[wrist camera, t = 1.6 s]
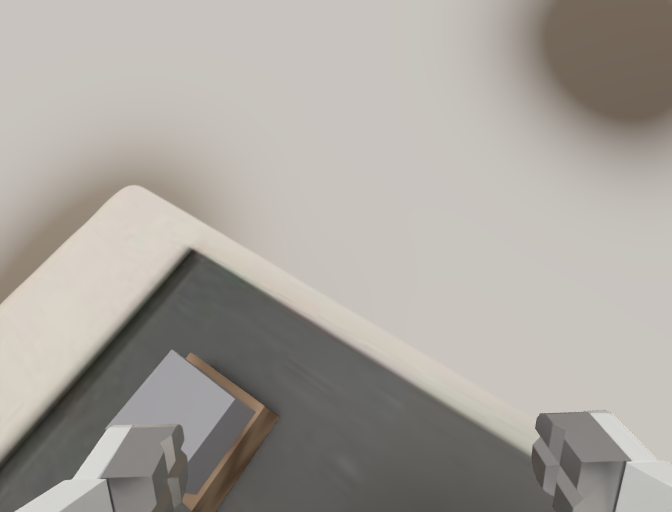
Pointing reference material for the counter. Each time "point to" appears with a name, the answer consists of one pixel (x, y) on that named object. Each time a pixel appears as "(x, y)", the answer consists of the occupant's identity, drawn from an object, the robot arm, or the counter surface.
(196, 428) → the grey top block
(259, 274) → the counter surface
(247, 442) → the walnut base block
